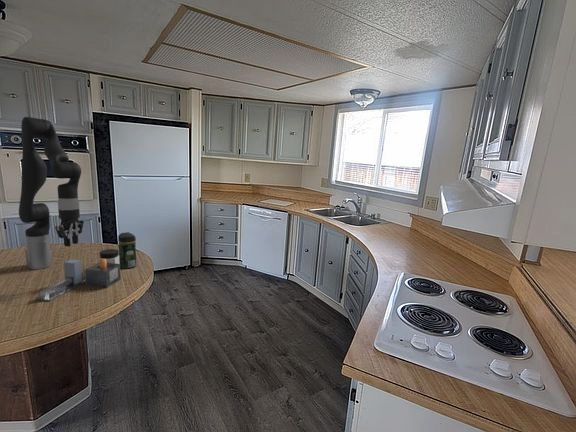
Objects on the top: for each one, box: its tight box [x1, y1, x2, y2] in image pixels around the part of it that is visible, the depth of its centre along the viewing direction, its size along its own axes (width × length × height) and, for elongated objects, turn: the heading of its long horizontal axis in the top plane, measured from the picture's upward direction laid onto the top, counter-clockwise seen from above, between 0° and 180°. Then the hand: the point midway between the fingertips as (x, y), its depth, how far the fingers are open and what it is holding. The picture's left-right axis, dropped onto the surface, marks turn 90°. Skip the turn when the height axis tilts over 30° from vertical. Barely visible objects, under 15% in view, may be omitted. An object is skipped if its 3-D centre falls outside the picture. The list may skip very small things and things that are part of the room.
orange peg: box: [98, 259, 107, 268], centre depth 141 cm, size 3×3×8 cm
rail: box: [35, 272, 86, 302], centre depth 132 cm, size 6×21×4 cm, turn 175°
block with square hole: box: [85, 262, 122, 288], centre depth 142 cm, size 10×10×8 cm
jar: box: [98, 248, 120, 264], centre depth 152 cm, size 9×8×12 cm
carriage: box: [63, 258, 83, 285], centre depth 137 cm, size 5×4×10 cm
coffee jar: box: [117, 231, 137, 269], centre depth 163 cm, size 10×8×19 cm
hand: (71, 244), depth 135 cm, fingers open, 3 cm apart
